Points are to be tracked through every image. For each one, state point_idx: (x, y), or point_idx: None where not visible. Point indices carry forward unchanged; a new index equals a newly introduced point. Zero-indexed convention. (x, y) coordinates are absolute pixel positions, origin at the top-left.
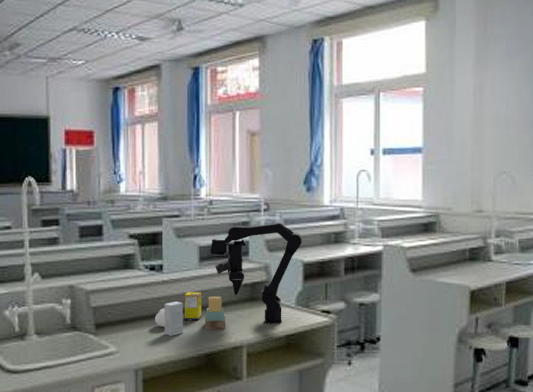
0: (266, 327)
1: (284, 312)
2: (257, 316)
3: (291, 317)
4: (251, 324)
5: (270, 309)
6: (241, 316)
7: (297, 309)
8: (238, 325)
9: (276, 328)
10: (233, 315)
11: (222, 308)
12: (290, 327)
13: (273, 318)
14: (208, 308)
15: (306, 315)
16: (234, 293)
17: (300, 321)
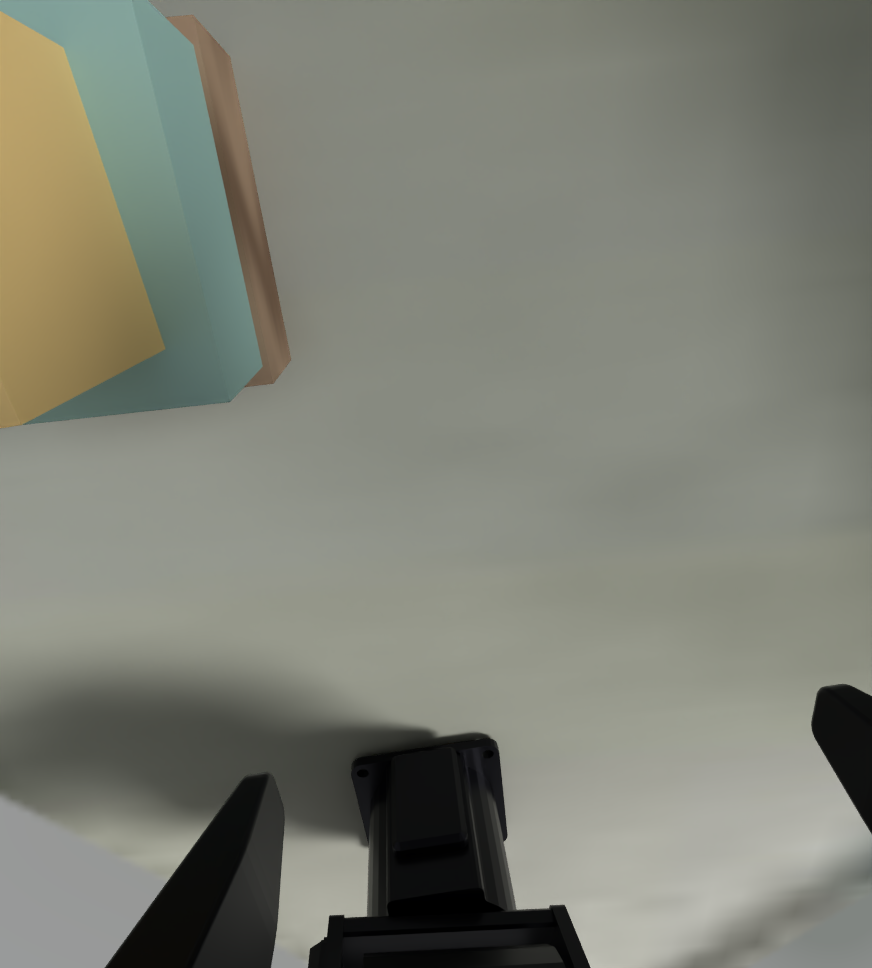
0: (210, 764)
1: (714, 839)
2: (602, 665)
3: (551, 888)
4: (293, 642)
5: (373, 913)
6: (615, 519)
7: (789, 902)
8: (230, 525)
9: (196, 830)
10: (669, 427)
11: (172, 381)
12: None
13: (369, 838)
14: (88, 35)
15: (603, 956)
16: (252, 789)
17: None
